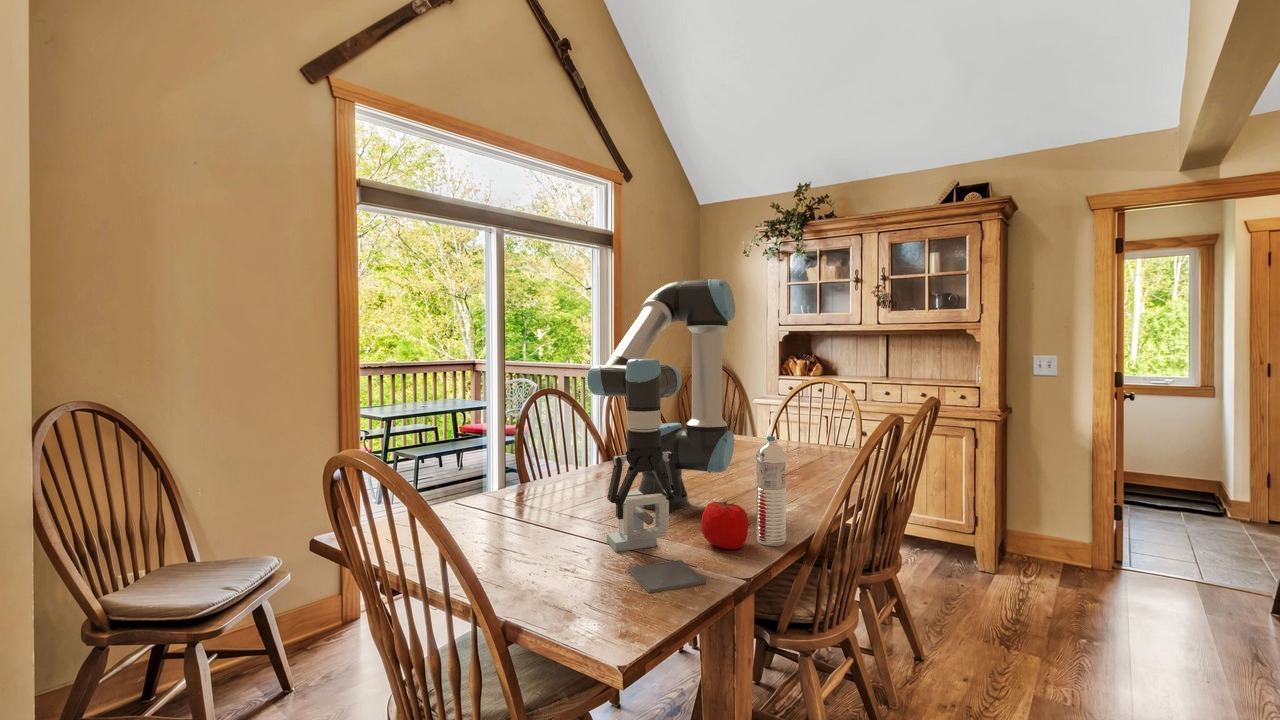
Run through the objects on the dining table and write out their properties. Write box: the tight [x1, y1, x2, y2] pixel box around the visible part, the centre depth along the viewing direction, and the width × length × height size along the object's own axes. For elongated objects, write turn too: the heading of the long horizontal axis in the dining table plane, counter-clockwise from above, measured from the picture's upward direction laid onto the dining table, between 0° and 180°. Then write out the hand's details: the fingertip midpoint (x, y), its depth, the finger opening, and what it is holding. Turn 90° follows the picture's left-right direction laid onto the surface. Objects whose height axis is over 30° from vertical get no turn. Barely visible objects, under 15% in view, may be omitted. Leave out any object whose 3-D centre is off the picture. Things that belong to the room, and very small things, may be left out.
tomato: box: [700, 501, 750, 550], centre depth 139 cm, size 11×13×10 cm
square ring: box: [624, 493, 667, 541], centre depth 132 cm, size 9×2×9 cm, turn 110°
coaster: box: [627, 559, 707, 594], centre depth 121 cm, size 12×12×1 cm
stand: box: [606, 490, 658, 552], centre depth 137 cm, size 16×10×12 cm, turn 20°
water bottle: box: [755, 435, 787, 547], centre depth 141 cm, size 7×7×25 cm
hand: (644, 530), depth 132 cm, fingers closed on square ring, 9 cm apart
